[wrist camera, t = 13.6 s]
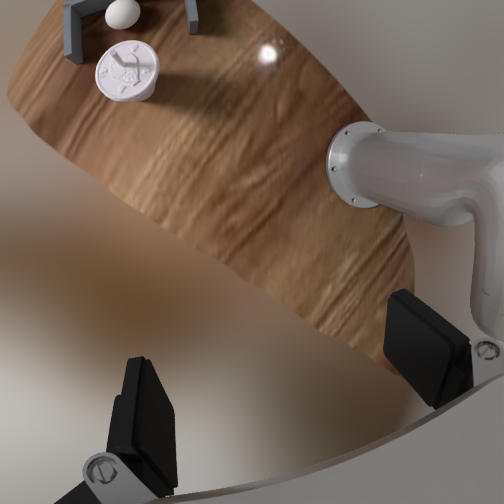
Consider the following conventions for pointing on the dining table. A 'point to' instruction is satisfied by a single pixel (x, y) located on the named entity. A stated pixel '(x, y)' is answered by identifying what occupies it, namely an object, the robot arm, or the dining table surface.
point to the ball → (122, 14)
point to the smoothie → (128, 71)
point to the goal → (86, 3)
